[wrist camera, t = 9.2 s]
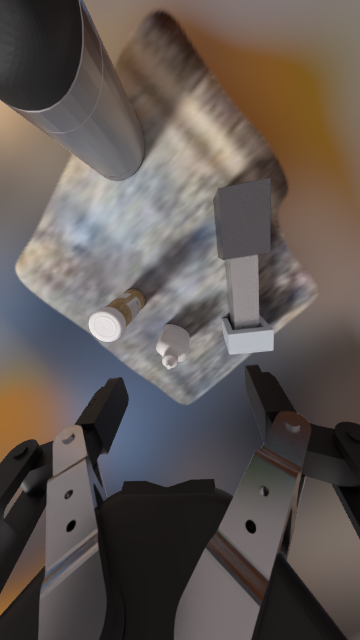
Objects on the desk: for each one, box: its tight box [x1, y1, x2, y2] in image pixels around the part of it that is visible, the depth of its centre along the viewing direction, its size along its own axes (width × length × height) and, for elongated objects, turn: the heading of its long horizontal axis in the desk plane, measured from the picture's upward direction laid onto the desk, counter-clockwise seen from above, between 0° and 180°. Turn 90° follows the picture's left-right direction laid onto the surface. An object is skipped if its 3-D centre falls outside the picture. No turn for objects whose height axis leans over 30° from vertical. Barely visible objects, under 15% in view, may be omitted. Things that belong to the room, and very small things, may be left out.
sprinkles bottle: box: [89, 289, 145, 342], centre depth 32 cm, size 5×5×14 cm
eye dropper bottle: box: [156, 324, 190, 369], centre depth 34 cm, size 4×6×12 cm
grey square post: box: [226, 255, 259, 330], centre depth 33 cm, size 16×4×5 cm, turn 9°
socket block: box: [222, 314, 274, 355], centre depth 35 cm, size 4×7×8 cm, turn 99°
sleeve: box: [213, 178, 271, 260], centre depth 29 cm, size 9×6×7 cm
